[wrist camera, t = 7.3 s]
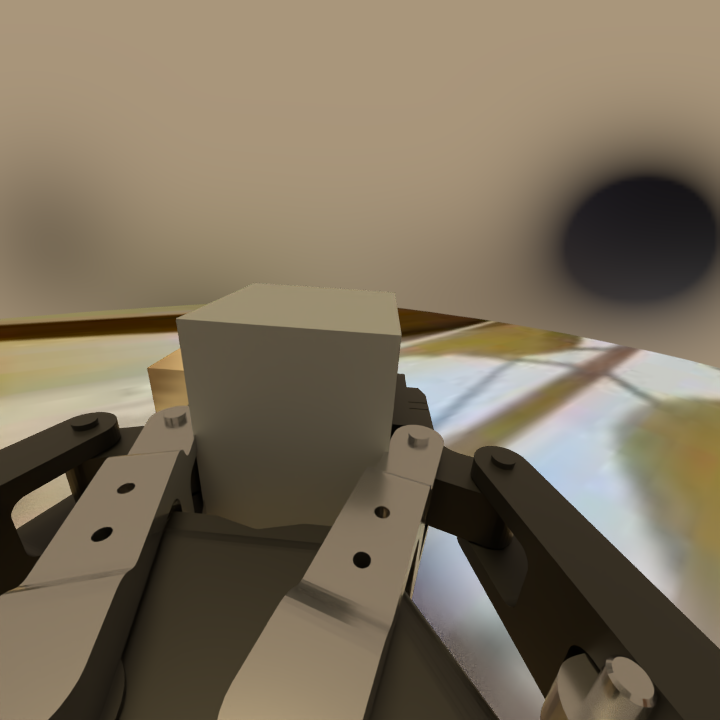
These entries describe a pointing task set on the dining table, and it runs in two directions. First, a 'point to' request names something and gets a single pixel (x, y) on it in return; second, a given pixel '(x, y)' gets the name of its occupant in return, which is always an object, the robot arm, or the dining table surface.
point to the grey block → (289, 398)
